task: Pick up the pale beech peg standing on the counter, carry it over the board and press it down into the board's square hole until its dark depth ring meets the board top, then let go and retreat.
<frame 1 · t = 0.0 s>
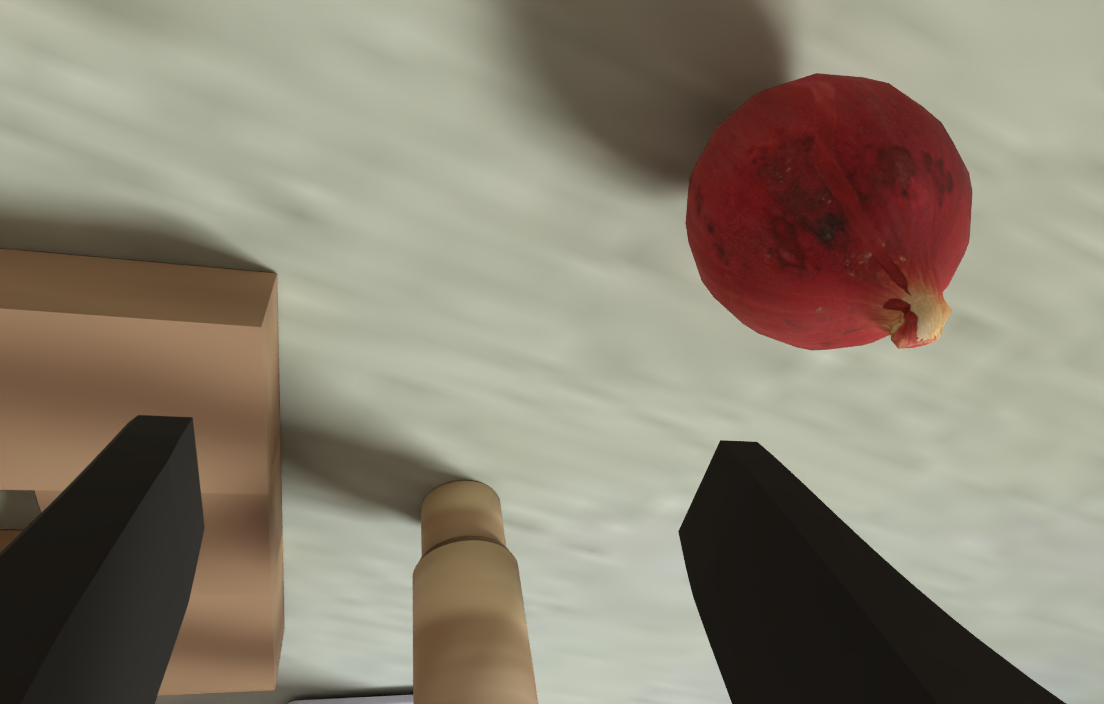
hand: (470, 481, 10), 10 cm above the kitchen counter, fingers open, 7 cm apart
pomegranate: (751, 150, 19), on the kitchen counter
peg: (460, 508, 25), on the kitchen counter
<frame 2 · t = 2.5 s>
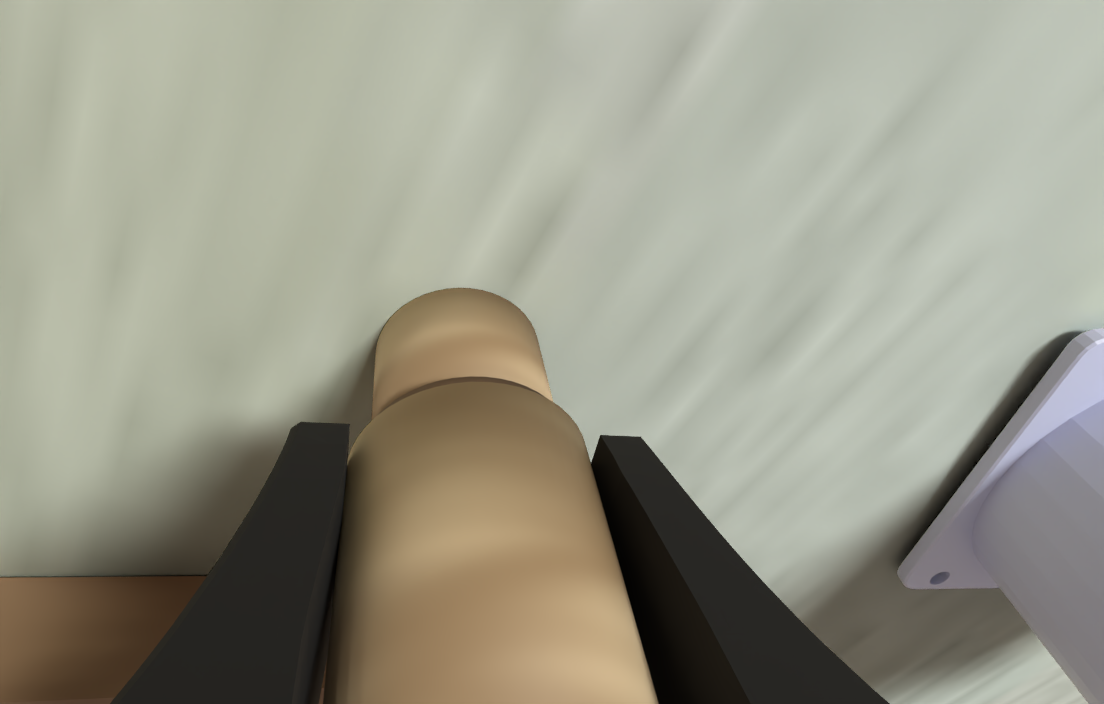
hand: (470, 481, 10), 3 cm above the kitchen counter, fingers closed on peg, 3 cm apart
peg: (458, 357, 12), on the kitchen counter, touching gripper
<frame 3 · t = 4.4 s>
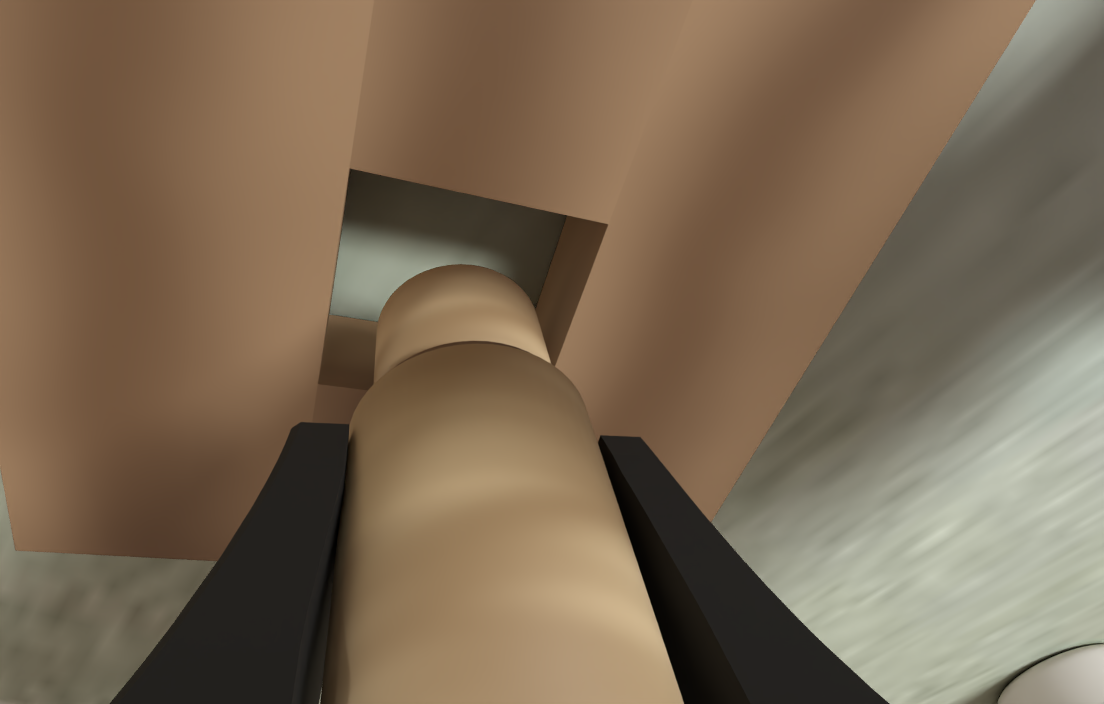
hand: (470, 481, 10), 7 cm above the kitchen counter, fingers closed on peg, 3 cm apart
bath foam: (1057, 674, 35), on the kitchen counter
peg: (459, 336, 12), point 4 cm above the kitchen counter, touching gripper
board: (451, 245, 15), on the kitchen counter
when the fingers open (3 cm above the kitchen counter, at t = 6.3 s): peg stays where it is, resting in board.
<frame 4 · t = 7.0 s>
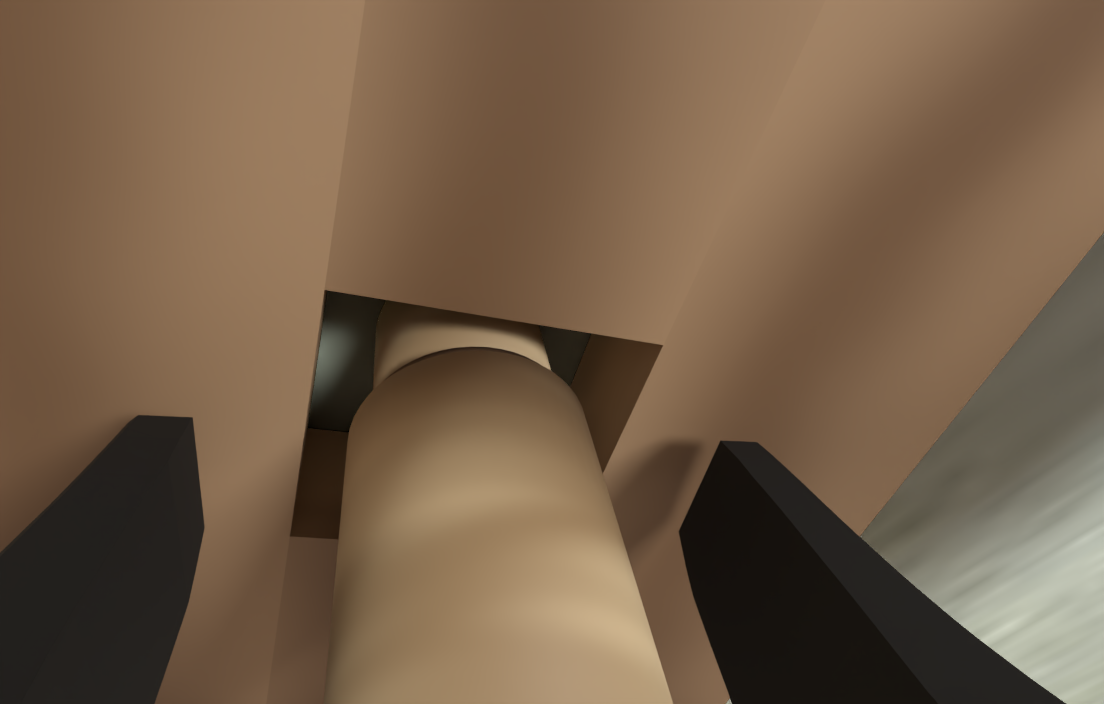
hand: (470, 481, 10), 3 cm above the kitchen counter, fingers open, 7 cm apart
peg: (458, 334, 12), resting in board
board: (457, 347, 13), on the kitchen counter
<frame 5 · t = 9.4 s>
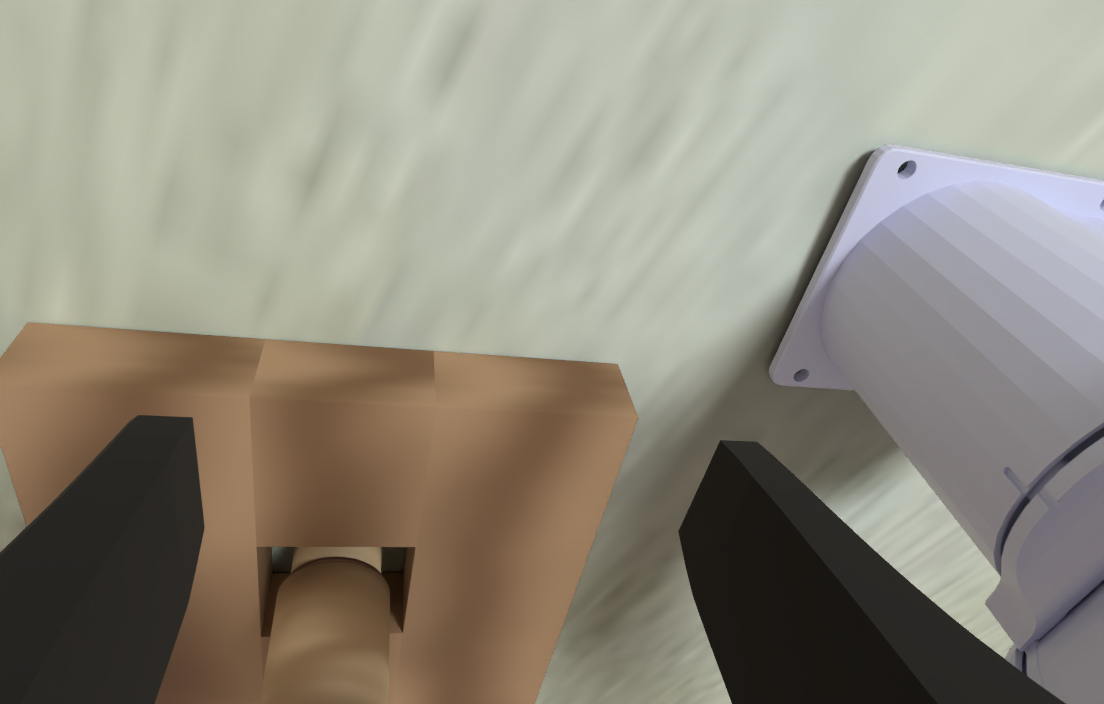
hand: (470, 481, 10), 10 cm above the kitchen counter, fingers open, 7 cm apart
peg: (340, 526, 24), resting in board
board: (341, 531, 25), on the kitchen counter
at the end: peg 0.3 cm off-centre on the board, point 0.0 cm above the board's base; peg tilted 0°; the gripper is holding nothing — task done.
